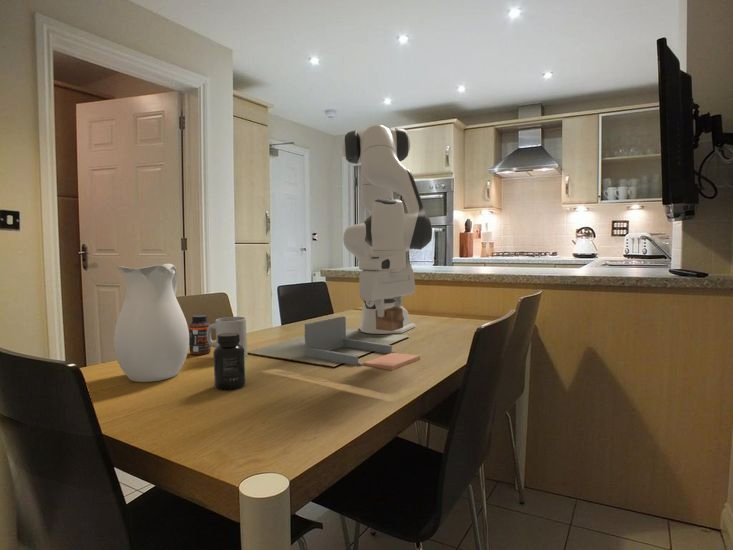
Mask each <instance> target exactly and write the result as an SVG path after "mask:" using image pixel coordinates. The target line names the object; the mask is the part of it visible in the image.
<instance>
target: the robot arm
mask: <svg viewBox="0 0 733 550" xmlns="http://www.w3.org/2000/svg"><path fill="white" fill-rule="evenodd" d="M408 134H409V133H408V132H407V131H406V129H404V128H398V127H394V128H391V127H389V128H388V127H387V126H385V125H382V124H374V125H370V126H369V127H367V128H366V129H362V130H357V129H356V130H351V131H349V132H347V133H346V134H345V135H344V137H343V140H342V152H343V153H342V154H343V156H344V157H345V160H346V161H347V162H348V163H350V164H355V165H358V164H360V166H361V167H360V169H361V170H360V171H361V172H360V186H361V187H360V189H361V191H360V193H361V204H362V207H363V208H364V209H365V211H367V212H368V213H371V215H369V216H368V218H367V219H365V220H364V223H362V222H361V223H357V224H352V225H349V226H347V227H346V229H345V231H344V233H343V244H344V247H345V249H346V250H347V251H348V252H349V253H350V254H352V255H353V256H354V257H355V258H356V260H357V261H358V262H359V263H358V268H359V270H360V272H359V278H358V279H359V280H358V282H359V284H358V288H359V289H358V290H359V293H358V294H359V297H360V298H361V300H362V302H363V306H362V308H361V320H360V325H359V326H358V328H359V329H360V332H362V333H364V334H365V333H366V334H371V335H372V334H375V335H379V334H380V335H382V334H383V335H386V334H387V335H388V334H404V333H405V332H407V331H409V330H411V329H413V328H415V327H416V323H413V322H410V317H409V311H408V310H407V309H406V308H405V307H404V306H402V305H403V302H404V297H405V296H409V295H413V294H414V293H415V291H416V281H415V272H414V269H413V267H412V264H411V263H410V262H409V260H407V252H410V250H422V249H424V248H425V247H426V246H428V245H429V244H430V242H431V241H432V239H433V238H432V237H433V227H432V223H431V219H430V217H429V216H428V213H427V211H426V209H425V207H424V204H423V201H422V198H421V195H420V191H419V188H418V187H417V184H416V181H415V178H414V175H413V173H412V172H411V170H410V169H408V168H407V167H405V166H404V165H403V164H402V161H404V160H405V159H406V158H407V157H408V155H409V153H410V150H411V140H410V137H409V135H408ZM394 193H396V194H398V195H399V196H401V197H402V199H403V200H400V199H399V198H394ZM403 201H404V203H403ZM404 204H405V206H404ZM404 207H406V209H407V212H405V208H404ZM386 307H390V308H402V310H403V328H400V329H397V330H394V331H387V330H378V329H376V312H375V310H377V312H378V317H385V316H386V310H385V309H384V308H386Z"/></svg>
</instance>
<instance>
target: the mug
mask: <svg viewBox="0 0 733 550" xmlns="http://www.w3.org/2000/svg"><path fill="white" fill-rule="evenodd" d="M214 322H215V323H211V324H210V325H209V326H208V329H207V341H208V344H209V345H210V346H211V347H212V348H216V347H217V346H219V344H218V343H217V341H218V335H219V334H222V333H239V334H240V342H239V344H240V345H242V346H243V347H244V349H245V358H247V356H248V344H247V343H248V342H247V341H248V339H247V318H246V317H243V316H228V317H227V316H225V317H218V318H216V319H215V321H214ZM212 330H215V341H213V339H212Z"/></svg>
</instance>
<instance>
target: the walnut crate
mask: <svg viewBox="0 0 733 550" xmlns="http://www.w3.org/2000/svg"><path fill="white" fill-rule="evenodd" d="M384 309H385V310H386V316H385V317H378V312H377V310H375V312H376V329H378V330H387V331H394V330H397V329H400V328H403V310H402V308H390V307H386V308H384Z"/></svg>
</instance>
